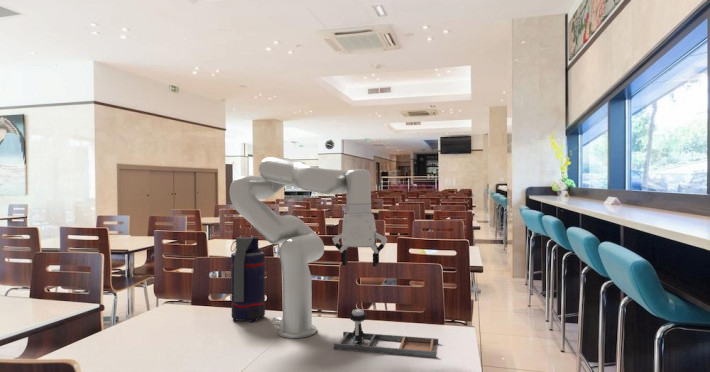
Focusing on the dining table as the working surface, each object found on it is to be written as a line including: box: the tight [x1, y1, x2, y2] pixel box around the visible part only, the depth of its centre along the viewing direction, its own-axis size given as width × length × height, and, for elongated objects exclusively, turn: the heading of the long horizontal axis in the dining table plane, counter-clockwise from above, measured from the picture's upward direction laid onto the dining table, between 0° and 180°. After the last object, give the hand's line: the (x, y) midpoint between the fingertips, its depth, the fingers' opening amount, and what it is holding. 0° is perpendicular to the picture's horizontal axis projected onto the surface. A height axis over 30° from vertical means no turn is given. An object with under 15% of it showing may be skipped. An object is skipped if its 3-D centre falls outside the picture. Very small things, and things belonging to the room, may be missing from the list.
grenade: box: [230, 236, 266, 324], centre depth 159 cm, size 14×12×30 cm
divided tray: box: [333, 331, 439, 359], centre depth 131 cm, size 30×11×2 cm, turn 76°
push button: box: [349, 308, 368, 345], centre depth 133 cm, size 7×5×10 cm
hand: (360, 265), depth 134 cm, fingers open, 9 cm apart
